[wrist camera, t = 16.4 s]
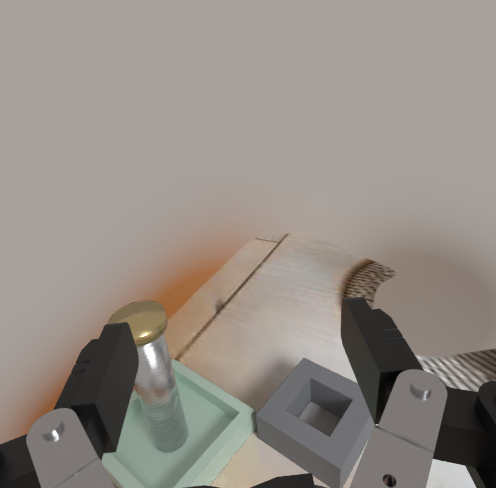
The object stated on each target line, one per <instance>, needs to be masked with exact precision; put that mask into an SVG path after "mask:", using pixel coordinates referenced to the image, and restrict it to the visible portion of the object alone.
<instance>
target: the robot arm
mask: <svg viewBox="0 0 496 488" xmlns="http://www.w3.org/2000/svg"><path fill="white" fill-rule="evenodd" d="M341 338H342V343H343V347H344V349H345V352H346V354H347V357H348V359H349V362H350V364H351V367H352V369H353V372H354V374H355V377H356V379H357V382H358V384H359V387H360V389H361V392H362V394H363V397H364V399H365V402H366V404H367V407H368V409H369V412H370V414H371V417H372V419H373V422H374V424H379V425H378V426H375V427H374V428H373V430H372V433H371V435H370V438H369V440H368V443H367V445H366V448H365V450H364V453H363V455H362V458H361V460H360V463H359V465H358V468H357V470H356V473H355V475H354V478H353V480H352V483H351V485H350V488H426V484H427V480H428V476H429V472H430V467H431V463H432V459H437V460H441V461H446V462H451V463H456V464H460V465H465V466H466V468H467V470H468V472H469V474H470V476H471V478H472V480H473V481H474V483H475V485H476V487H477V488H496V381H491V382H486V383H484V384H483V385H482V386H481V387H480V388H479V391H478V392H473V391H467V390H461V389H455V388H450V387H447V386H445V385H444V384H443V383H442V381H441V380H440V379H438V378H437V377H436V376H434V375H433V374H431V373H429V372H426V371H424V370H423V368H422V366H421V365H420V363H419V362H418V360H417V358H416V357H415V355H414V354H413V352H412V351H411V349H410V347H409V346H408V344H407V342H406V341H405V339H404V338H403V336H402V334H401V333H400V331H399V330H398V329H397V326H396V325H395V323H394V322H393V320H392V318H391V317H390V316H389V315H387V314H386V313H385V312H383V311H382V310H381V309H373V310H371V309H370V307H369V305H368V303H367V302H366V300H365V298H364V297H355V298H346V299H343V300H342V309H341ZM138 366H139V356H138V351H137V348H136V345H135V342H134V338H133V335H132V332H131V329H130V326H129V324H128V323H127V322H121V323H112V324H106V325H105V326H104V329H103V331H102V333H101V335H100V337H99V339H94V340H91V341H90V342H89V343H88V344H87V345H86V346H85V347H84V349H82V351H81V353H80V355H79V357H78V359H77V361H76V365H74V368H73V370H72V374H70V376H69V378H68V380H67V382H66V384H65V386H64V389H63V391H62V393H61V395H60V397H59V399H58V401H57V403H56V406H55V408H54V410H53V411H50V412H48V413H46V414H45V415H43V416H42V417H41V418H39V419H38V420H37V421H36V422H35V423H34V424H33V425H32V427H31V428H30V430H29V432H28V434H26V435H24V436H21V437H19V438H16V439H14V440H11V441H9V442H6V443H3V444H0V488H114V486H113V484H112V482H111V480H110V478H109V476H108V474H107V472H106V470H105V468H104V466H103V464H102V462H101V461H102V457H103V454H104V453H113V452H116V450H117V446H118V442H119V439H120V435H121V431H122V427H123V424H124V420H125V416H126V412H127V409H128V405H129V401H130V398H131V394H132V390H133V386H134V383H135V379H136V375H137V371H138ZM184 488H218V487H212V486H207V485H202V486H193V487H184ZM251 488H326V487H322V486H318V485H314V481H313V476H312V473H308V474H299V475H290V476H282V477H276V478H273V479H271V480H268V481H266V482H263V483H261V484H258V485H256V486H254V487H251Z"/></svg>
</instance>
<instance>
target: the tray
mask: <svg viewBox="0 0 496 488" xmlns="http://www.w3.org/2000/svg"><path fill="white" fill-rule="evenodd" d="M171 363H172V367H173V371H174V375H175V379H176V383H177V387H178V391H179V395H180V399H181V403H182V407H183V410H184V414H185V418H186V422H187V426H188V431H189V434H188V438H187V441H186V442H185V444H184V445H183V446H182V447H181V448H179V449H178V450H176V451H174V452H170V453H164V452H161V451H159V450H157V449H156V447H155V445H154V443H153V440H152V437H151V434H150V431H149V428H148V425H147V422H146V419H145V416H144V413H143V410H142V407H141V404H140V401H139V398H138V395H137V392H136V390H135V391H134V392H132V394H131V398H130V401H129V405H128V409H127V412H126V416H125V420H124V424H123V427H122V431H121V435H120V439H119V442H118V446H117V450H116V452H113V453H104V454H103V457H102V461H101V462H102V464H103V466H104V468H105V470H106V472H107V474H108V476H109V478H110V480H111V482H112V484H113V485H114V486H115V487H116V488H184V487H193V486H202V485H207V486H209V485H210V484H211V483H212V482H213V480H214V479H215V478H216V477H217V475H218V474H219V473H220V472H221V470H222V469H223V468H224V467H225V466H226V464H227V463H228V462H229V461H230V459H231V458H232V457H233V456H234V454H235V453H236V452H237V451H238V450H239V448H240V447H241V446H242V445H243V443H244V442H245V441H246V440H247V438H248V437H249V436H250V435H251V434H252V432H253V431H254V430H255V429H256V427H257V424H256V416H255V410H254V409H252V408H251V407H249V406H248V405H246V404H245V403H243V402H241V401H240V400H238V399H237V398H235V397H233V396H232V395H230V394H229V393H227V392H225V391H224V390H222V389H221V388H219V387H218V386H216V385H214V384H213V383H211V382H210V381H208V380H206V379H205V378H203V377H202V376H200V375H199V374H197V373H195V372H194V371H192V370H191V369H189V368H187V367H186V366H184V365H183V364H181V363H179V362H178V361H176V360H175V359H172V360H171Z"/></svg>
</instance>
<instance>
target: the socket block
mask: <svg viewBox="0 0 496 488" xmlns="http://www.w3.org/2000/svg"><path fill="white" fill-rule="evenodd" d="M310 401H313V402H314V403H316V404H318V405H320V406H322V407H323V408H325V409H327V410H329V411H331V412H333V413H334V414H336V415H338V416H340V417H342V418H341V420H340V422H339V423H338V425H337V426H336V428H335V430H334V431H333V433H332V434H331V436H330V437H329V436H327V435H326V434H324V433H322V432H321V431H319V430H317V429H316V428H314V427H312V426H311V425H309V424H307V423H305V422H304V421H302V420H300V419H299V418H298V417H299V416H300V414H301V413H302V412H303V410H304V409H305V408H306V406H307V405H308V403H309V402H310ZM256 422H257V430H258V438H259V439H260V440H262V441H263V442H265V443H266V444H268V445H269V446H271V447H272V448H274V449H275V450H277V451H278V452H280V453H281V454H282V455H284V456H285V457H287V458H288V459H290V460H291V461H293V462H294V463H296V464H297V465H299V466H300V467H302V468H303V469H304V470H306V471H307V472H309V473H312V475H313V476H315V477H316V478H318V479H319V480H321V481H322V482H324V483H325V484H326V485H328V486H329V487H331V488H343V486H344V484H345V482H346V480H347V478H348V476H349V474H350V472H351V471H352V469H353V467H354V465H355V463H356V461H357V459H358V457H359V455H360V454H361V452H362V450H363V448H364V446H365V444H366V442H367V440H368V438H369V437H370V435H371V433H372V430H373V428H374V427H375V425H376V424H374V422H373V419H372V417H371V414H370V412H369V409H368V407H367V404H366V402H365V399H364V397H363V394H362V392H361V389H360V387H359V384H358V383H356V382H354V381H351V380H349V379H347V378H345V377H343V376H341V375H339V374H337V373H335V372H333V371H331V370H328V369H326V368H324V367H322V366H320V365H318V364H316V363H314V362H312V361H310V360H308V359H305V358H303V359H302V360H301V361H300V363H299V364H298V365H297V366H296V367H295V369H294V370H293V371H292V372H291V373H290V375H289V376H288V377H287V378H286V379H285V381H284V382H283V383H282V384H281V385H280V386H279V388H278V389H277V390H276V391H275V392H274V394H273V395H272V396H271V397H270V398H269V400H268V401H267V402H266V403H265V404H264V406H263V407H262V408H261V409H260V410H259V412H258V413H257V414H256Z"/></svg>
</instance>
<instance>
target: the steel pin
mask: <svg viewBox="0 0 496 488" xmlns="http://www.w3.org/2000/svg"><path fill="white" fill-rule="evenodd" d="M121 322H127V323H128V324H129V326H130V329H131V332H132V335H133V338H134V342H135V345H136V348H137V351H138V356H139V366H138V371H137V375H136V379H135V383H134V386H135V389H136V392H137V395H138V398H139V401H140V404H141V407H142V410H143V413H144V416H145V419H146V422H147V425H148V428H149V431H150V434H151V437H152V440H153V443H154V445H155V447H156V449H157V450H159V451H161V452H164V453H170V452H174V451H176V450H178V449H179V448H181V447H182V446H183V445H184V444H185V442H186V441H187V438H188V434H189V431H188V426H187V422H186V418H185V414H184V410H183V407H182V403H181V399H180V395H179V391H178V387H177V383H176V379H175V375H174V371H173V367H172V363H171V359H170V355H169V351H168V347H167V343H166V339H165V336H164V331H165V330H166V328H167V324H168V321H167V317H166V313H165V309H164V307H163V306H162V305H161V304H159V303H157V302H154V301H138V302H134V303H131V304H129V305H126V306H124V307H122V308H120V309H119V310H117V311H116V312H115V313H114V314H113V315H112V316H111V318H110V319H109V321H108V324H112V323H121Z"/></svg>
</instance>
